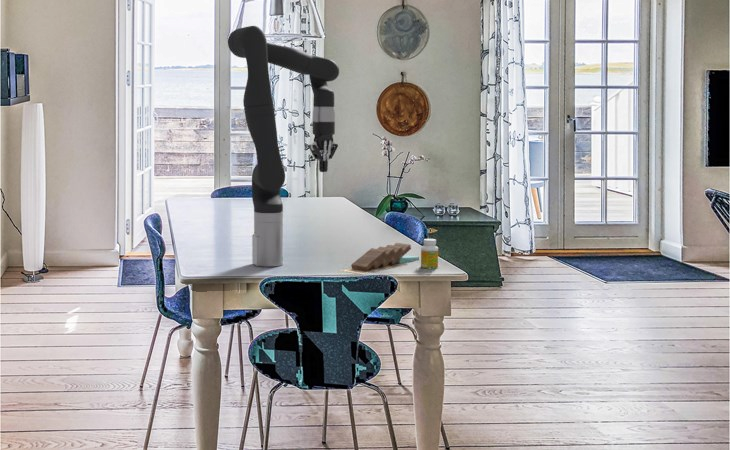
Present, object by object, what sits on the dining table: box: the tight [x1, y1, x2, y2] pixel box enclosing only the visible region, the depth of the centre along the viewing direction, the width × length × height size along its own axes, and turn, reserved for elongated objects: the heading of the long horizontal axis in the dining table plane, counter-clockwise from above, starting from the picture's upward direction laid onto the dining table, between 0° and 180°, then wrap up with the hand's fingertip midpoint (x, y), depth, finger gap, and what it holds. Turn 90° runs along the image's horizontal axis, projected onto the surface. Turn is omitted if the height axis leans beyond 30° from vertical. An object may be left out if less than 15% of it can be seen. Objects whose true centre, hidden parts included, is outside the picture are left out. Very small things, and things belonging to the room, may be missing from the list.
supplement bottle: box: [420, 238, 439, 270], centre depth 269 cm, size 5×5×10 cm
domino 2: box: [370, 246, 395, 269], centre depth 269 cm, size 2×6×11 cm
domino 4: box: [388, 242, 412, 265], centre depth 276 cm, size 2×6×11 cm
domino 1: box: [350, 248, 387, 272], centre depth 266 cm, size 2×6×11 cm
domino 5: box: [396, 254, 420, 264], centre depth 280 cm, size 2×6×11 cm
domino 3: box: [379, 244, 403, 268], centre depth 273 cm, size 2×6×11 cm
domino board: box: [338, 263, 406, 275], centre depth 268 cm, size 24×9×1 cm, turn 142°
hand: (323, 171), depth 288 cm, fingers closed
